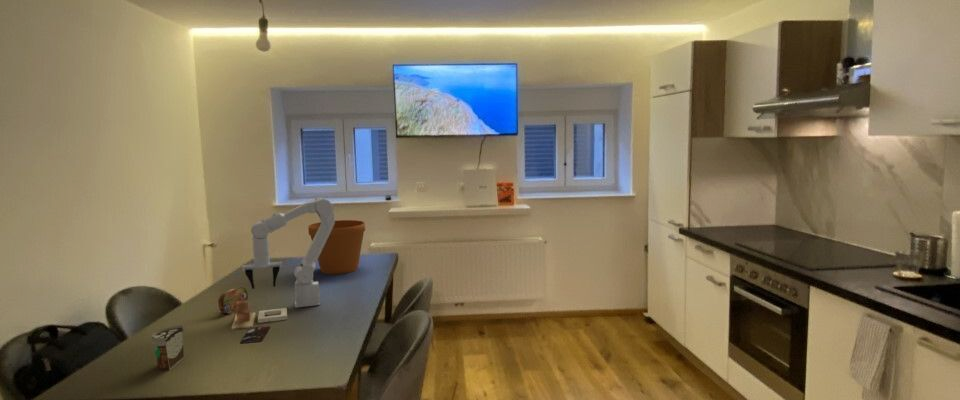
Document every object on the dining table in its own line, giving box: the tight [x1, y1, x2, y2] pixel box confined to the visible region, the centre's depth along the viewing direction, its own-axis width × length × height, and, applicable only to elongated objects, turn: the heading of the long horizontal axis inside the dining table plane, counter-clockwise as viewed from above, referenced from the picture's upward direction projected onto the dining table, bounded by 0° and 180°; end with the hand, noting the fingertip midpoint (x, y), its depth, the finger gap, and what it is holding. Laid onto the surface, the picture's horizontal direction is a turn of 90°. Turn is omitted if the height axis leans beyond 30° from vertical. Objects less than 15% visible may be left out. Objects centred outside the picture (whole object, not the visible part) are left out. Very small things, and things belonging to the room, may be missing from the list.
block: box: [236, 299, 251, 322], centre depth 199 cm, size 4×4×7 cm
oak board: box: [230, 312, 257, 331], centre depth 199 cm, size 7×16×1 cm, turn 19°
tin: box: [217, 286, 249, 314], centre depth 213 cm, size 15×3×8 cm, turn 168°
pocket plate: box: [257, 307, 288, 324], centre depth 204 cm, size 10×10×2 cm
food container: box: [150, 324, 185, 371], centre depth 162 cm, size 12×6×10 cm, turn 5°
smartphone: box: [239, 325, 271, 345], centre depth 185 cm, size 7×1×15 cm
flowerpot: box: [307, 219, 366, 275], centre depth 276 cm, size 28×28×24 cm
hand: (263, 287), depth 211 cm, fingers open, 7 cm apart
